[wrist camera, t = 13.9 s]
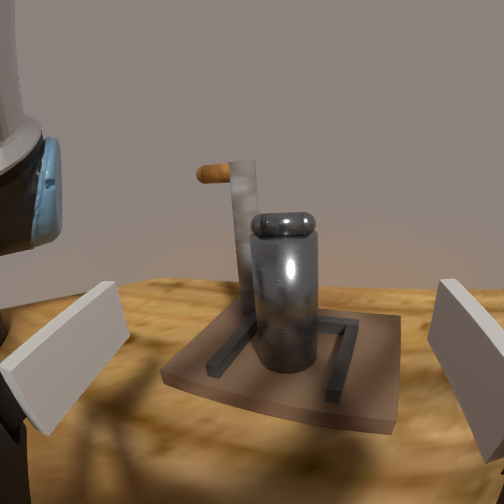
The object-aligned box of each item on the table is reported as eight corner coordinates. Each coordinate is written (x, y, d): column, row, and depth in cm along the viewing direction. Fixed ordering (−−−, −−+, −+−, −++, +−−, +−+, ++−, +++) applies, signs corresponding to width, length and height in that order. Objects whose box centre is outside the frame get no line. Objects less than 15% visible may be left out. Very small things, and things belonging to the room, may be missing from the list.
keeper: (147, 377, 24) (103, 180, 19) (223, 307, 36) (207, 164, 31) (391, 434, 16) (437, 164, 11) (398, 328, 28) (410, 158, 23)
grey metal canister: (255, 373, 22) (241, 222, 19) (263, 339, 27) (253, 208, 23) (317, 373, 21) (318, 219, 18) (316, 339, 26) (315, 205, 22)
